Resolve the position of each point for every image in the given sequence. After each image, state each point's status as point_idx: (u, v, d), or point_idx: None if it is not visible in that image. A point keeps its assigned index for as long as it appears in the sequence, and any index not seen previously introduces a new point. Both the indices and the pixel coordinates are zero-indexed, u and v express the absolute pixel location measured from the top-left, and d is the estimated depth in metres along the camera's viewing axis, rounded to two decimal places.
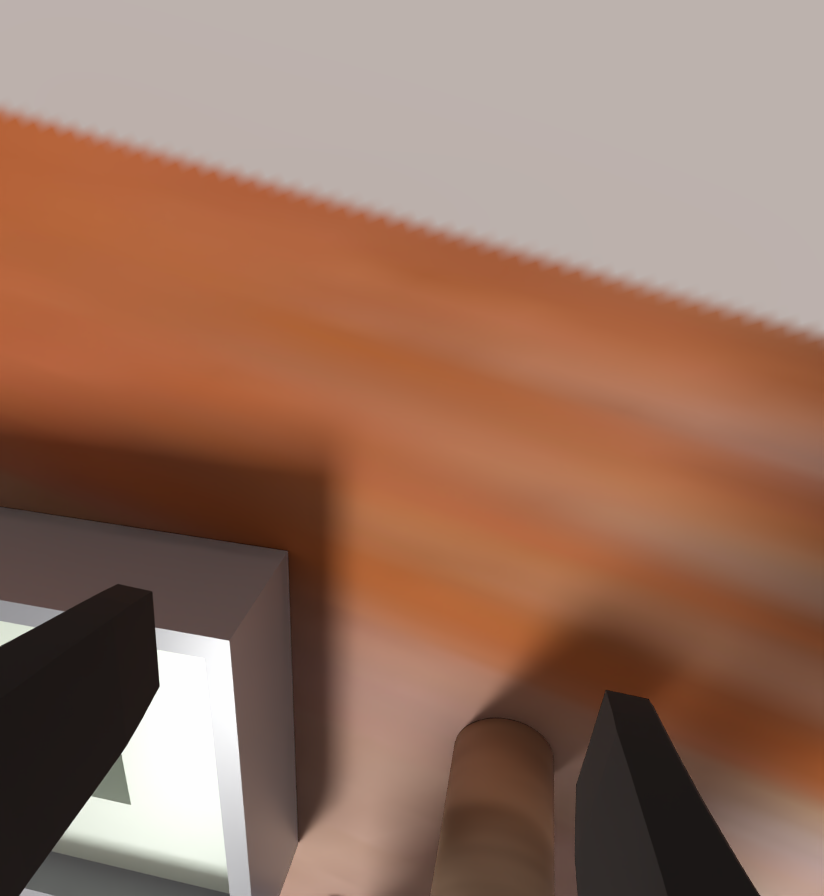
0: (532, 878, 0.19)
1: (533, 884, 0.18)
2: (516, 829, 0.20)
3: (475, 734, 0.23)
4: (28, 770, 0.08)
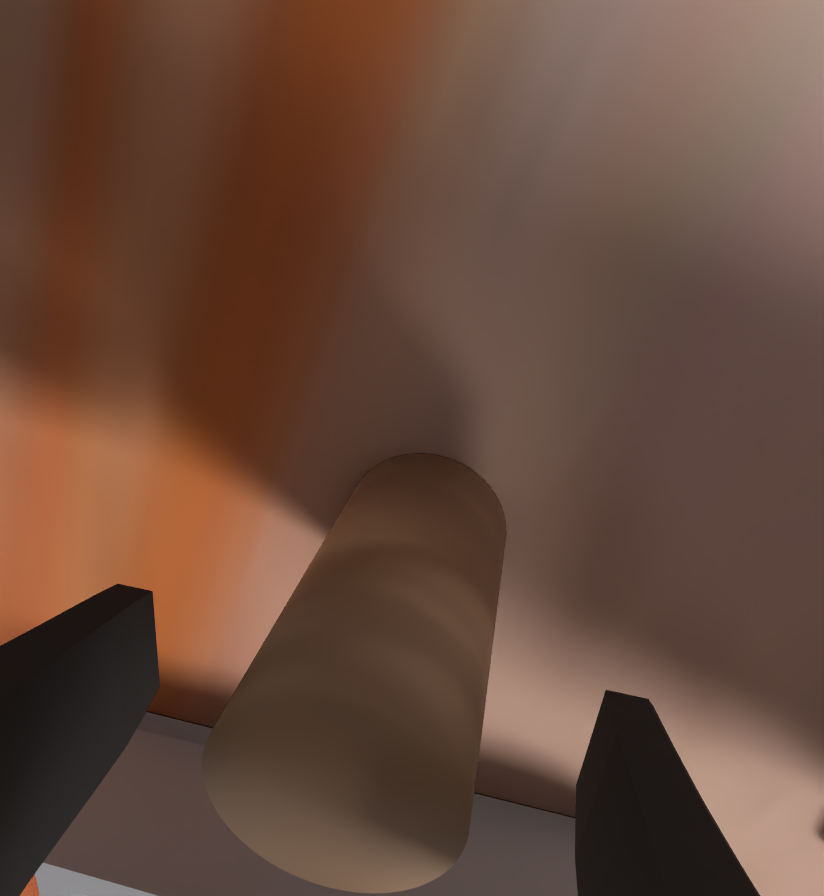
0: (274, 629, 0.10)
1: (271, 635, 0.10)
2: None
3: None
4: (28, 770, 0.08)
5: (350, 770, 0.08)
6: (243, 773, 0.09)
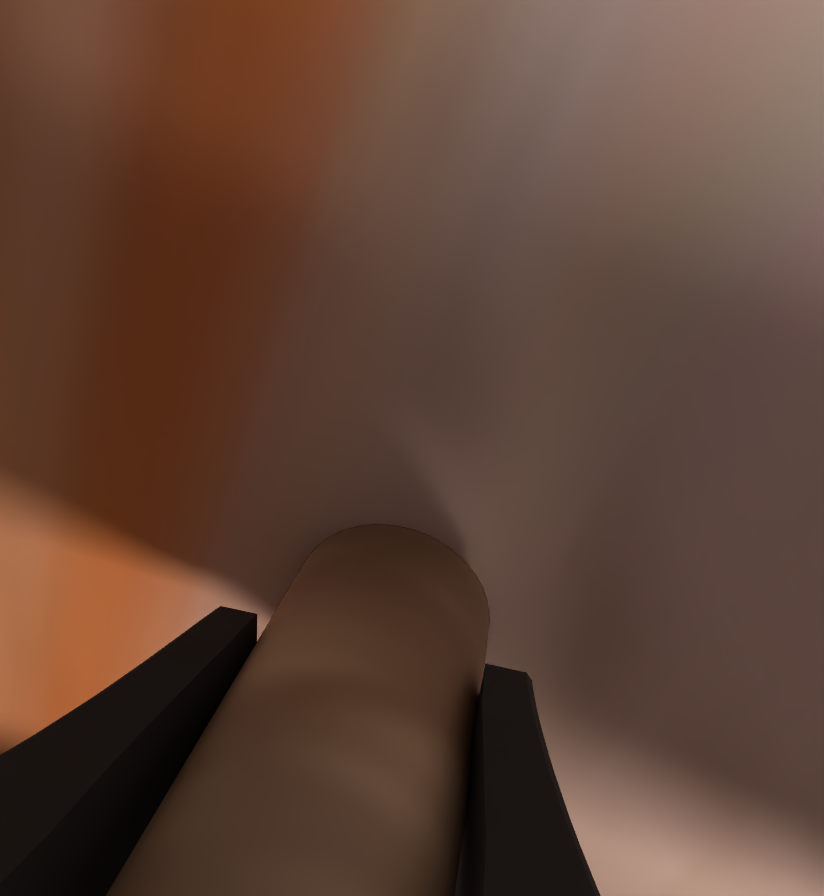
0: (158, 814, 0.07)
1: (152, 825, 0.07)
2: None
3: None
4: (156, 803, 0.08)
5: None
6: None
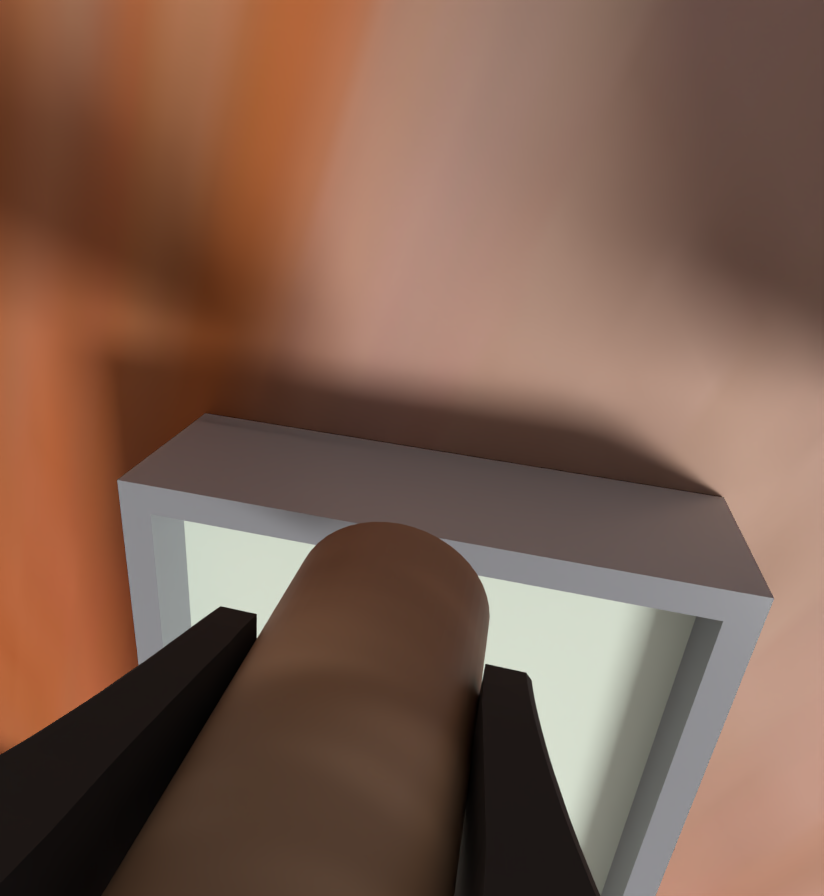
0: (158, 807, 0.07)
1: (151, 820, 0.07)
2: None
3: None
4: (156, 804, 0.08)
5: None
6: None
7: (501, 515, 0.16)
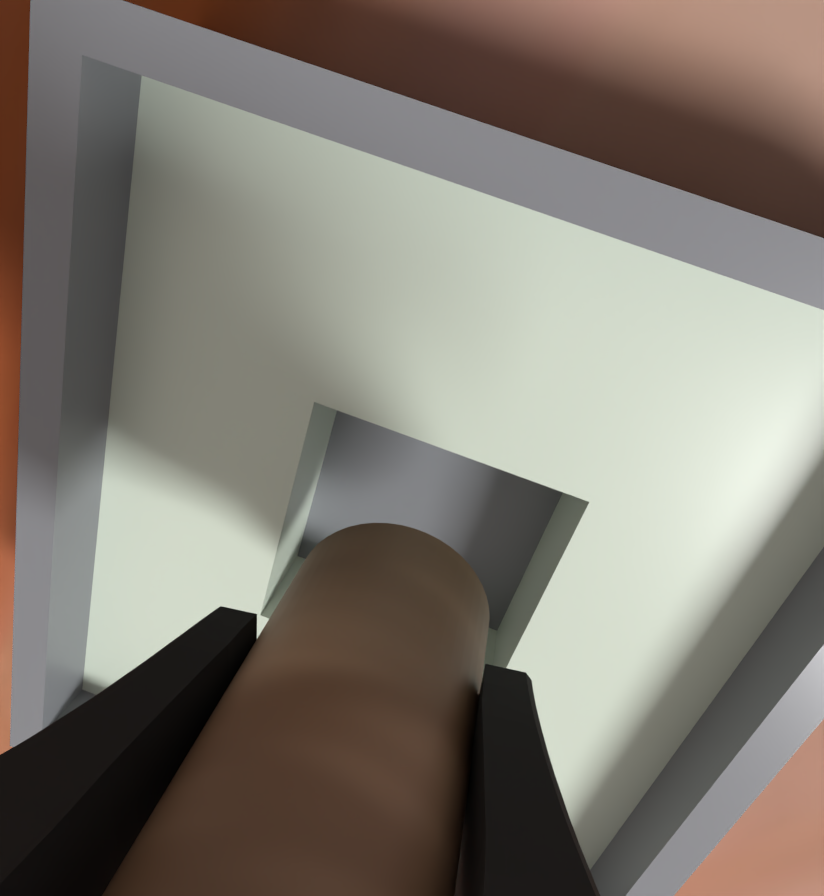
0: (158, 808, 0.07)
1: (150, 822, 0.07)
2: None
3: None
4: (156, 803, 0.08)
5: None
6: None
7: None
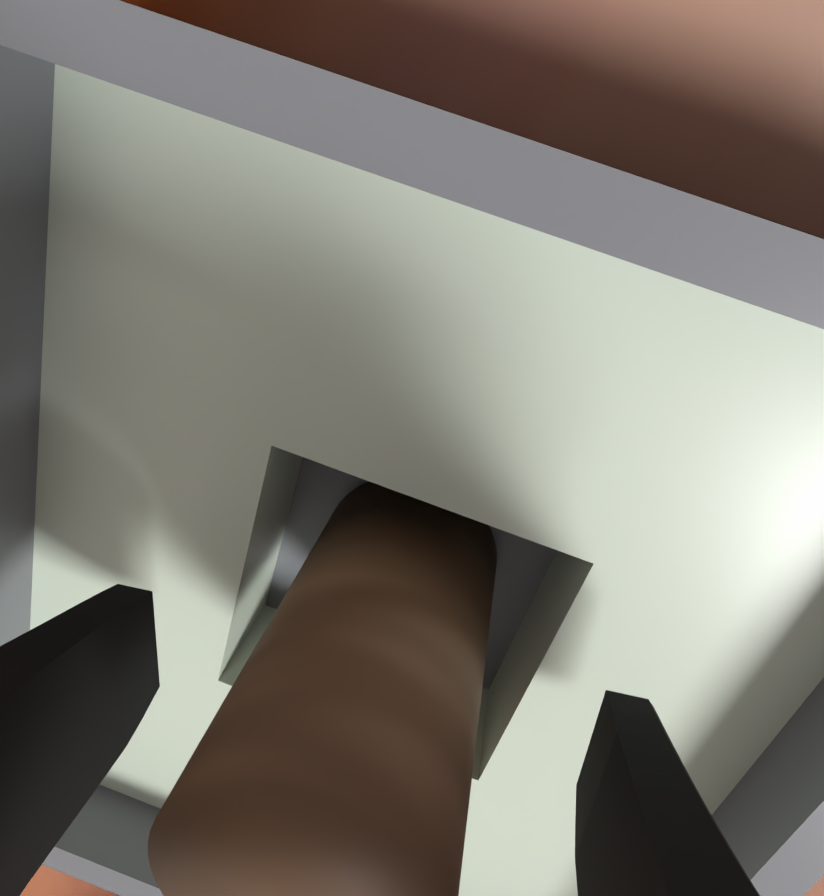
0: (235, 687, 0.09)
1: (230, 695, 0.09)
2: None
3: None
4: (28, 770, 0.08)
5: (315, 863, 0.07)
6: (195, 863, 0.08)
7: None
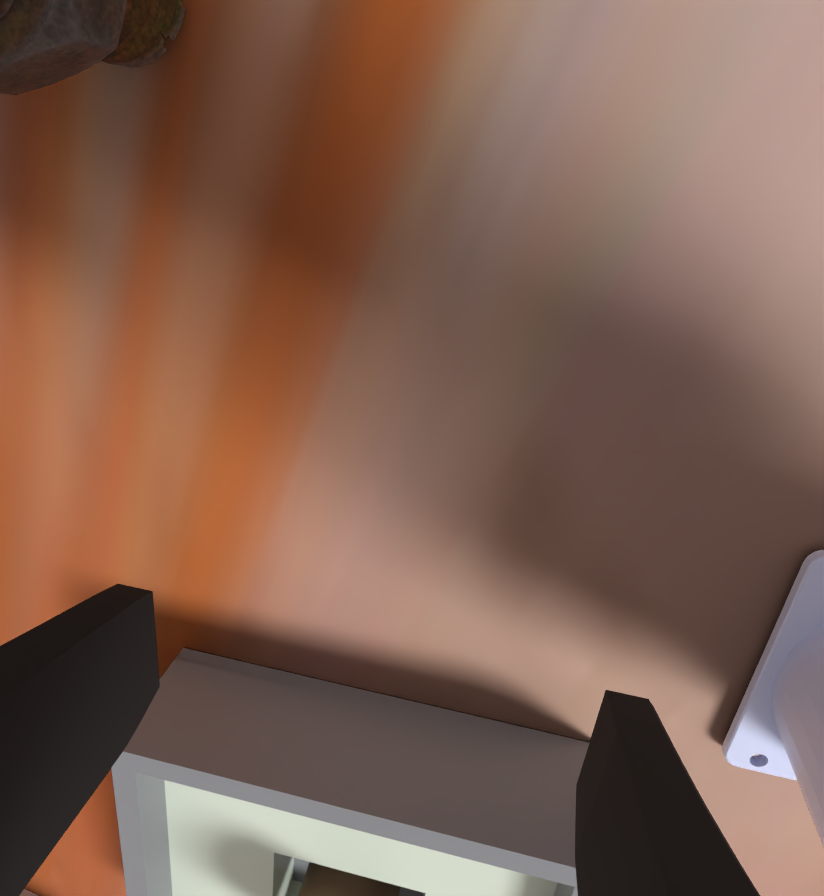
0: None
1: None
2: None
3: None
4: (28, 770, 0.08)
5: None
6: None
7: (413, 779, 0.20)
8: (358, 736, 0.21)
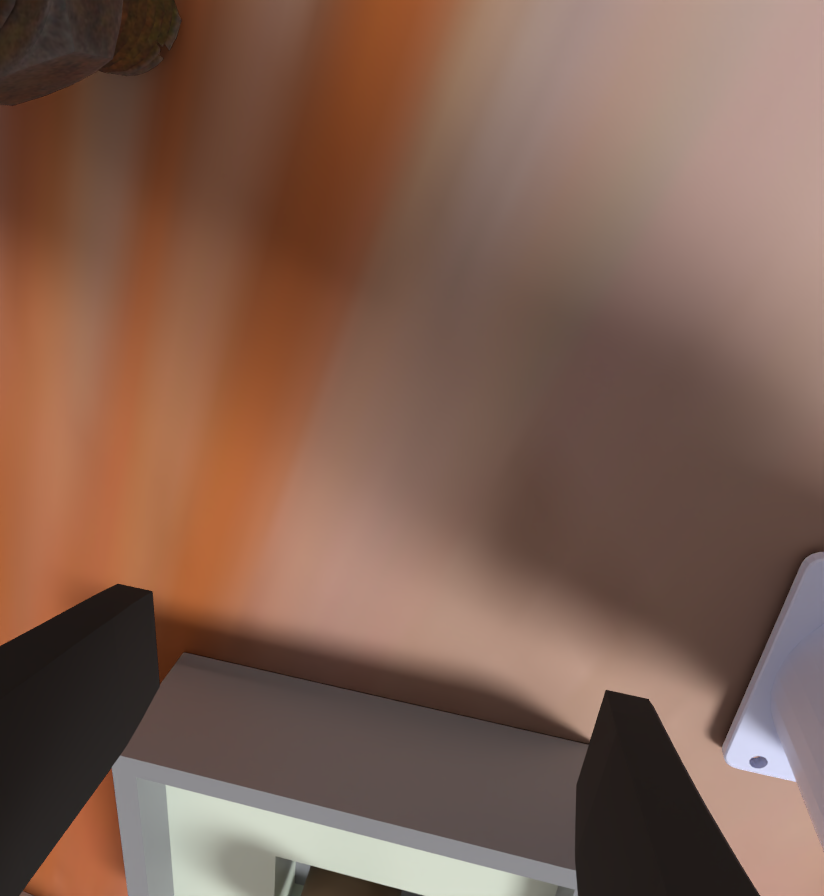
0: None
1: None
2: None
3: None
4: (28, 770, 0.08)
5: None
6: None
7: (413, 782, 0.20)
8: (358, 740, 0.21)
